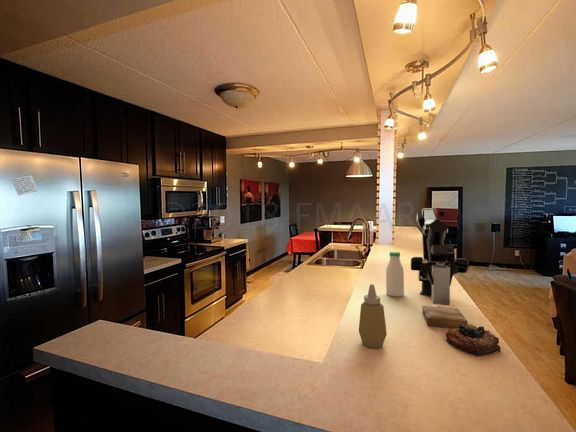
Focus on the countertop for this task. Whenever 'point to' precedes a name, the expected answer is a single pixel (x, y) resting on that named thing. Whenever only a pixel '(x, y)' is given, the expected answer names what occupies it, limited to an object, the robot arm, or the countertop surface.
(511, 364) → the countertop surface
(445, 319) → the stand
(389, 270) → the milk bottle
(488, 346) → the pastry
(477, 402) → the countertop surface
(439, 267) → the housing
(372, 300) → the squeeze bottle
